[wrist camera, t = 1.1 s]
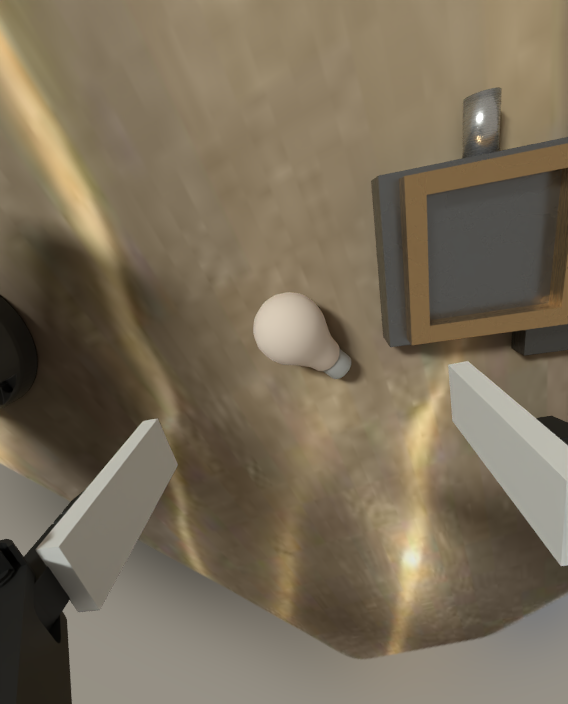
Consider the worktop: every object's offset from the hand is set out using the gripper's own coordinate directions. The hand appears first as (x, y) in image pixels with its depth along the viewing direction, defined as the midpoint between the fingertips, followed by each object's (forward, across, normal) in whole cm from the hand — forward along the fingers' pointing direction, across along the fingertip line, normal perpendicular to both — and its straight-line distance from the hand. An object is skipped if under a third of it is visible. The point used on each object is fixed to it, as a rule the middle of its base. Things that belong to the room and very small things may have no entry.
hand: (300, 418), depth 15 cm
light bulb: (+19, 0, -2) cm, 19 cm away
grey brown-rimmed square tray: (+19, +16, +2) cm, 24 cm away
